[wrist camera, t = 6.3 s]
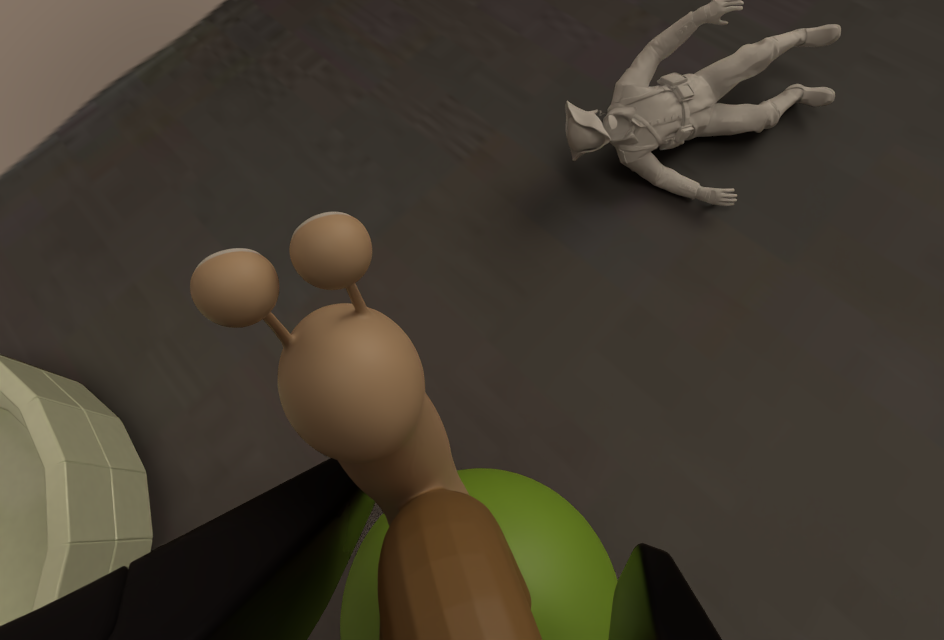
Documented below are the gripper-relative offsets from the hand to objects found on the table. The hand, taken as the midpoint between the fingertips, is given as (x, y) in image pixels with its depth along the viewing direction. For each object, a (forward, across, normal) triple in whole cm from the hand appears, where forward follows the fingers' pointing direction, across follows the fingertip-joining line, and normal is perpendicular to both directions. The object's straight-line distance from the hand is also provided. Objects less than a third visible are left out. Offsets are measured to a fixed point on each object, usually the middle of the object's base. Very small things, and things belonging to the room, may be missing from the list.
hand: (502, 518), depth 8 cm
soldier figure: (+22, -4, -4) cm, 23 cm away
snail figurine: (+4, 0, +6) cm, 7 cm away
